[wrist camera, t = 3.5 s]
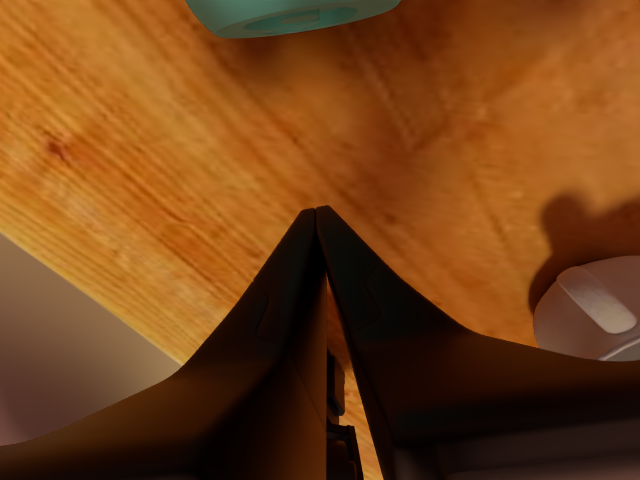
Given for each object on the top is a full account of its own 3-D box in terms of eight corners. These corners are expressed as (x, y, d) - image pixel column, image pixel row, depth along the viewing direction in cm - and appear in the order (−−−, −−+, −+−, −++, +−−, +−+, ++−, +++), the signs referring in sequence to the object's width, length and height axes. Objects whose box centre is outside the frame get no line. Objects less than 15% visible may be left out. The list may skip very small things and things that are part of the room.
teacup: (679, 305, 25) (816, 401, 18) (540, 360, 28) (607, 457, 21) (632, 171, 20) (797, 231, 13) (470, 259, 23) (528, 343, 16)
